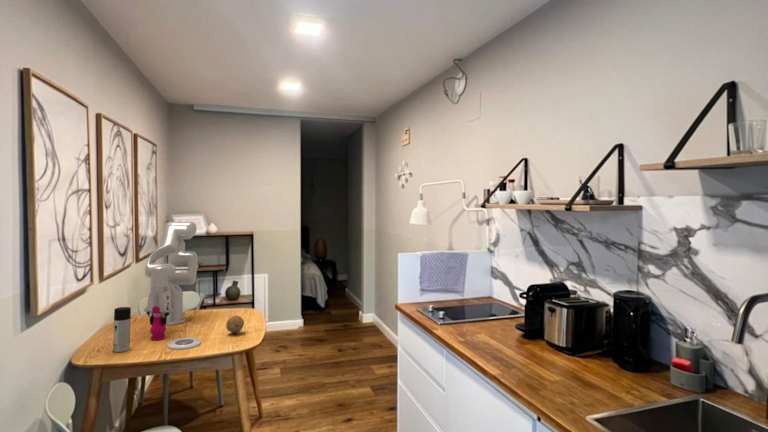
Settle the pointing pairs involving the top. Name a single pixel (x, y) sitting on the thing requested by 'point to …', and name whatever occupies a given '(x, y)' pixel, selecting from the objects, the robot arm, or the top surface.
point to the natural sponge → (235, 324)
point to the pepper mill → (157, 325)
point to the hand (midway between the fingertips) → (158, 324)
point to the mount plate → (184, 343)
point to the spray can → (121, 329)
